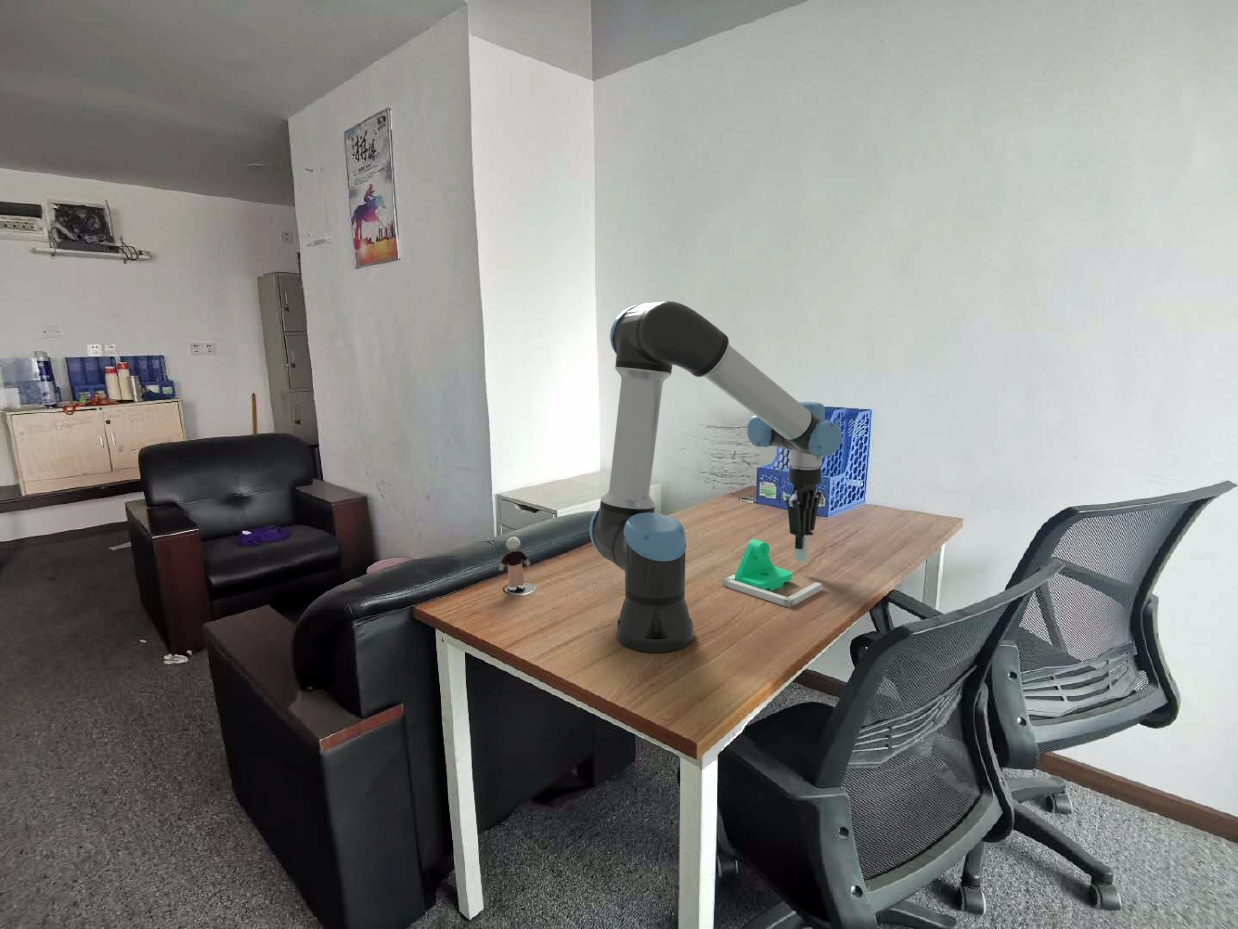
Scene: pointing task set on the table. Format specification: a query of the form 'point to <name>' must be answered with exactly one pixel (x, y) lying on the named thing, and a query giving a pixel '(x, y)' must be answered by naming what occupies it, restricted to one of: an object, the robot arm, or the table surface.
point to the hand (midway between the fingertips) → (800, 560)
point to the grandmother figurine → (514, 562)
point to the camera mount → (760, 568)
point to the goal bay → (772, 596)
